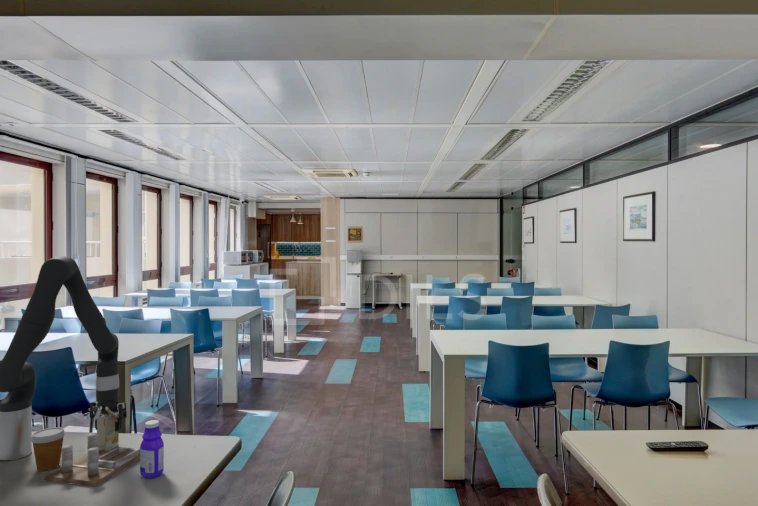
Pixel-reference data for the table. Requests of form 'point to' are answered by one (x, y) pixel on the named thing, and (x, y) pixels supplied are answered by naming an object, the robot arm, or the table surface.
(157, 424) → the bottle
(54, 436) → the disposable coffee cup
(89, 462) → the pin board
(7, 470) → the table surface
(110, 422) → the skincare box
